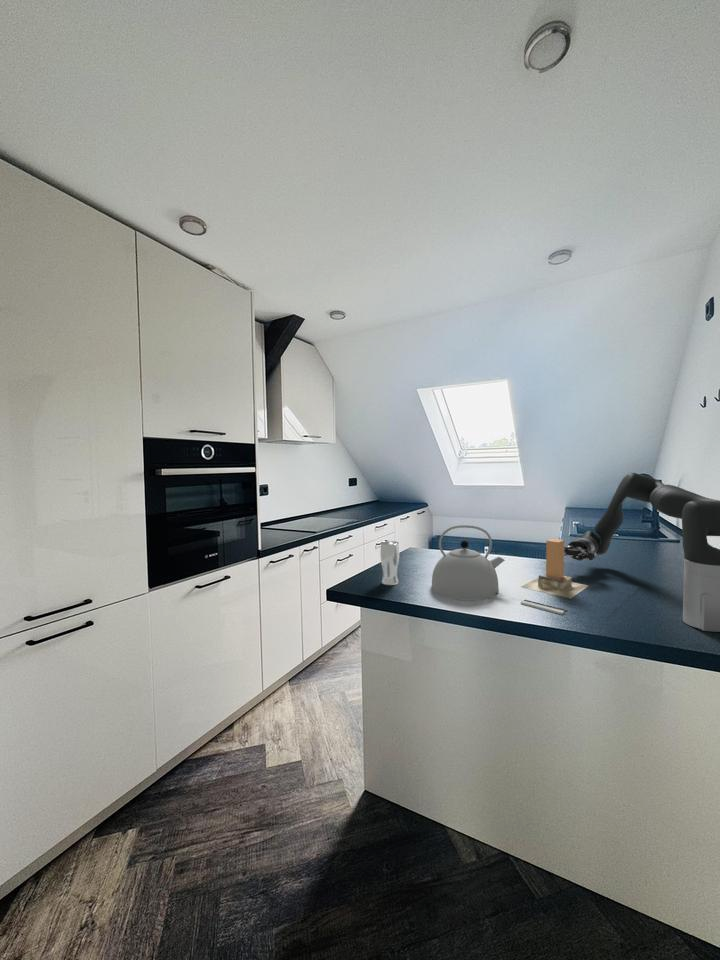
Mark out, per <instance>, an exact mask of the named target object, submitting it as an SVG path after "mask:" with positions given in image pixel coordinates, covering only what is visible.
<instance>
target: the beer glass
mask: <svg viewBox="0 0 720 960" xmlns="http://www.w3.org/2000/svg"><path fill="white" fill-rule="evenodd" d="M379 554H380V564H381V567H382V579H381V584H382V585H385V586H396V585H398V584H399V578H398V568H399V563H400V545H399V542H398V541H394V540H385V541H381V542H380V551H379Z"/></svg>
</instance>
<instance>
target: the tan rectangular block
mask: <svg viewBox="0 0 720 960" xmlns="http://www.w3.org/2000/svg"><path fill="white" fill-rule="evenodd" d="M545 542H546V543H545V545H546V546H545V547H546V549H545V550H546V551H545V552H546V554H545V555H546V556H545V560H546V561H545V563H546V564H545V574H546V577H550V578H555V579H560V580H562V579H564V576H565V556H564V554H565V553H564V547H565V540H564V539H559V538H558V539H557V538H549V539H546V541H545Z"/></svg>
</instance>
